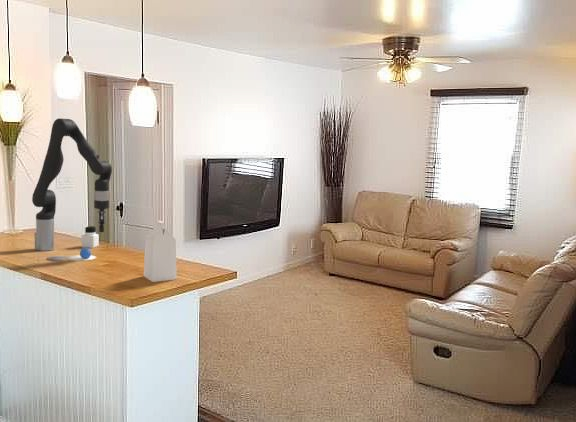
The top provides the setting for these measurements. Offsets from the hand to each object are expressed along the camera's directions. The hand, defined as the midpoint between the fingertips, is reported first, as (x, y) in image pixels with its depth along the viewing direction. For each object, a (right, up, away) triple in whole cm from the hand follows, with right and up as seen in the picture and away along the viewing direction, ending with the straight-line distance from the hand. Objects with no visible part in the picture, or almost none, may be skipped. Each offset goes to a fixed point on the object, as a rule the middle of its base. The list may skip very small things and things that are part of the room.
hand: (101, 231), depth 293 cm
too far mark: (-21, -14, -6) cm, 26 cm away
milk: (+40, -20, -38) cm, 59 cm away
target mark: (-10, -14, -2) cm, 17 cm away
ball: (-7, -11, -4) cm, 14 cm away
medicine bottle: (-16, -10, +29) cm, 35 cm away
